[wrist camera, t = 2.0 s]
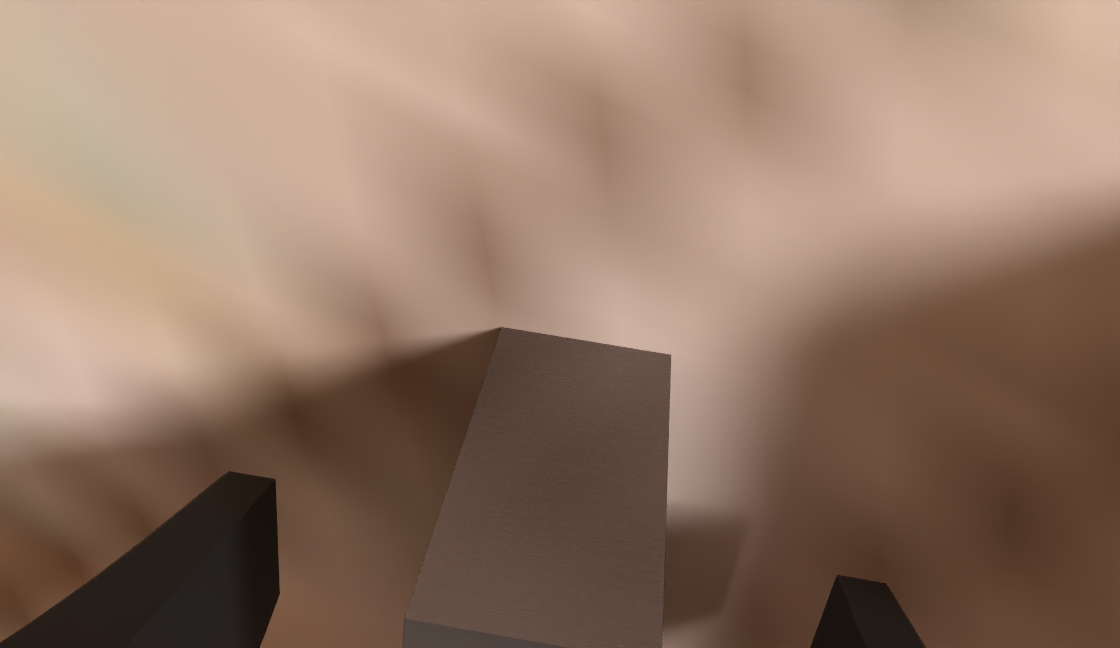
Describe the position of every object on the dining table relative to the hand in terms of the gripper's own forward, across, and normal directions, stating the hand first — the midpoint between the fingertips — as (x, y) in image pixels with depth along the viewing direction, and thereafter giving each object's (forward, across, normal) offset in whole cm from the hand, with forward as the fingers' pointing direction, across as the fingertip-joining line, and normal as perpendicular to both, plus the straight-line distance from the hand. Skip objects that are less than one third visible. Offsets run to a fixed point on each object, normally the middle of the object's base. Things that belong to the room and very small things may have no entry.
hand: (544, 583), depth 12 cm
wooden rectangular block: (+2, 0, 0) cm, 2 cm away
